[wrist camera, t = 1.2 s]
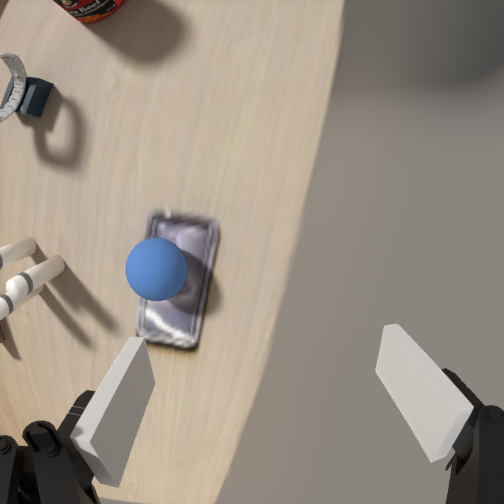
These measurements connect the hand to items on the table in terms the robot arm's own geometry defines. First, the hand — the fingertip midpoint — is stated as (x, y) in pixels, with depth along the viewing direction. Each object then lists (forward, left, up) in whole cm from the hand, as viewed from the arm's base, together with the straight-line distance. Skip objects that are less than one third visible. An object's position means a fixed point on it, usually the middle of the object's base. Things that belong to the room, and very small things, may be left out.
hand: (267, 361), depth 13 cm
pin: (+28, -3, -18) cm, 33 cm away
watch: (+26, -21, -18) cm, 38 cm away
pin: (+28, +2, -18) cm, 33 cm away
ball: (+9, 0, -15) cm, 18 cm away
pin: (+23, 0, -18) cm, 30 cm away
